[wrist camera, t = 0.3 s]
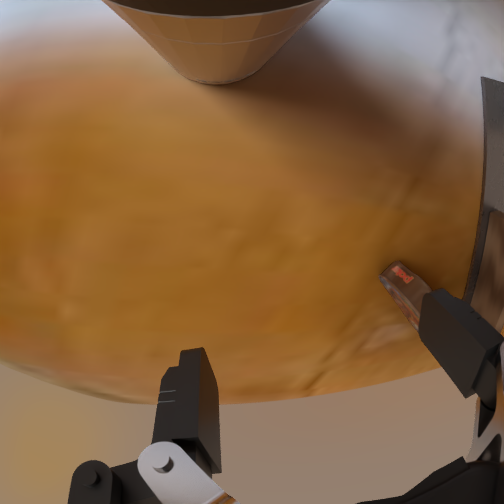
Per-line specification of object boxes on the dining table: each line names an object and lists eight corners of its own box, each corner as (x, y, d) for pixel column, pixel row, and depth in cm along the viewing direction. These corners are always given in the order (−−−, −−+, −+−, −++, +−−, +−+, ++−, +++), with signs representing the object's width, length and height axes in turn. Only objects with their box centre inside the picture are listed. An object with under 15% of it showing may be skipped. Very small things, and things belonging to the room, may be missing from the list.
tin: (366, 263, 30) (407, 310, 22) (389, 243, 29) (435, 285, 21) (416, 332, 35) (448, 374, 28) (434, 316, 35) (468, 357, 27)
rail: (480, 76, 21) (483, 76, 21) (504, 83, 22) (507, 83, 21) (450, 338, 37) (452, 340, 37) (472, 329, 37) (474, 331, 37)
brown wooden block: (485, 212, 28) (519, 232, 23) (503, 209, 28) (535, 227, 23) (457, 332, 36) (479, 358, 31) (475, 325, 36) (496, 348, 31)
